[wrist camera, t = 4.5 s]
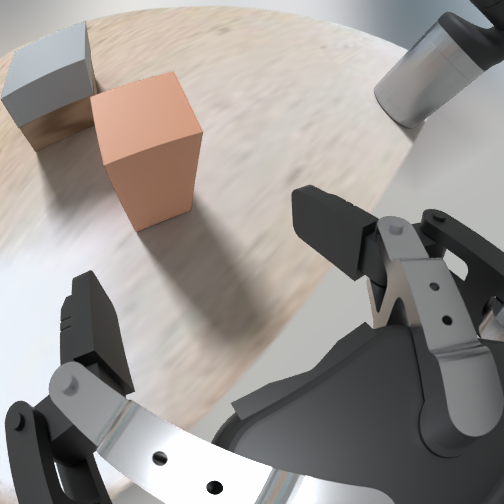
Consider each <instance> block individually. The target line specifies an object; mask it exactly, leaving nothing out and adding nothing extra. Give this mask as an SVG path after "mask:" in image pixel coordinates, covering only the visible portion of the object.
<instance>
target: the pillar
mask: <svg viewBox="0 0 504 504" xmlns="http://www.w3.org/2000/svg"><path fill="white" fill-rule="evenodd" d="M90 99H91V106H92V112H93V117H94V123H95V128H96V133H97V138H98V142H99V147H100V151H101V156H102V160H103V164H104V167H105V169H106V172H107V174H108V176H109V178H110V180H111V183H112V185H113V187H114V189H115V191H116V193H117V195H118V198H119V200H120V202H121V204H122V206H123V208H124V210H125V212H126V214H127V216H128V218H129V220H130V222H131V224H132V226H133V228H134V230H135V231H136V232H137V231H140V230H142V229H145V228H147V227H149V226H152V225H154V224H157V223H159V222H162V221H164V220H167V219H170V218H172V217H175V216H177V215H180V214H183V213H185V212H188V211H190V210H191V206H192V198H193V191H194V184H195V177H196V171H197V165H198V158H199V152H200V147H201V141H202V135H203V131H202V129H201V126H200V124H199V122H198V120H197V118H196V116H195V114H194V112H193V110H192V108H191V106H190V104H189V102H188V100H187V97H186V95H185V93H184V91H183V89H182V87H181V85H180V83H179V81H178V79H177V77H176V75H175V73H174V72H171V73H166V74H162V75H158V76H154V77H150V78H147V79H143V80H139V81H136V82H133V83H129V84H126V85H123V86H120V87H117V88H114V89H111V90H108V91H105V92H103V93H100V94H97V95H95V96H92V97H90Z"/></svg>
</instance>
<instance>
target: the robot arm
mask: <svg viewBox="0 0 504 504" xmlns="http://www.w3.org/2000/svg"><path fill="white" fill-rule="evenodd" d="M470 1H471V2H472V3H473V4H474V5H475V6H476V7H477V8H478V9H479V10H480V11H481V12H482V13H483V14H484V15H485V16H486V17H487V19H488V20H489V21H490V22H491V23H492V24H493V25H494V27H492V28H489V29H484V28H481V27H478V26H476V25H474V24H471V23H470V22H468V21H466V20H464V19H463V18H461V17H459V16H457V15H455V14H454V13H451V12H446V13H444V14H443V15H442V16H441V17H440V18H439V19H438V21H436V22H435V23H434V24H433V25H432V26H431V27H430V28H429V29H428V30H427V31H426V33H425V34H424V35H423V36H422V37H421V38H420V39H419V40H418V41H417V42H416V43H415V44H414V45H413V46H412V47H411V49H410V50H409V51H408V52H407V53H406V54H405V55H404V56H403V57H402V58H401V59H400V60H399V61H398V62H397V63H396V64H395V66H394V67H393V68H392V69H391V70H390V71H389V72H388V73H387V74H386V75H385V76H384V77H383V78H382V80H381V81H380V82H379V83H378V84H377V85H376V86H375V88H374V92H375V95H376V98H377V100H378V102H379V103H380V105H381V106H382V107H383V109H384V110H385V111H386V112H387V113H388V114H389V115H390V116H391V117H392V118H393V119H394V120H395V121H397V122H398V123H399V124H401V125H403V126H405V127H407V128H414V127H416V126H417V125H418V124H420V123H421V122H422V121H423V120H425V119H426V118H427V117H429V116H430V115H431V114H433V113H434V112H435V111H436V110H438V109H439V108H440V107H441V106H442V105H444V104H445V103H446V102H448V101H449V100H450V99H451V98H453V97H454V96H455V95H456V94H458V93H459V92H460V91H461V90H463V89H464V88H465V87H467V86H468V85H469V84H470V83H471V82H472V81H474V80H475V79H476V78H478V77H479V76H480V75H481V74H482V73H484V72H485V71H486V70H488V69H489V68H490V67H492V66H493V65H496V64H498V63H500V62H501V61H503V60H504V0H470ZM292 216H293V227H294V230H295V232H296V234H297V235H298V237H299V238H300V239H302V240H303V241H304V242H306V243H307V244H308V245H310V246H311V247H312V248H313V249H315V250H316V251H317V252H319V253H320V254H321V255H322V256H324V257H325V258H326V259H327V260H329V261H330V262H331V263H333V264H334V265H335V266H336V267H338V268H339V269H340V270H341V271H343V272H344V273H345V274H346V275H348V276H349V277H350V278H351V279H352V280H354V281H356V280H357V279H359V278H360V277H362V276H364V275H366V276H367V277H368V278H367V288H368V293H369V299H370V304H371V309H372V314H373V322H374V326H373V329H372V328H371V327H370V326H369V325H368V324H367V323H366V322H364V323H363V324H361V325H360V326H359V327H357V328H356V329H355V330H353V331H352V332H350V333H349V334H347V335H346V336H345V337H343V338H342V339H340V340H339V341H338V342H337V343H336V344H335V345H334V346H333V348H332V349H331V350H330V351H329V352H328V353H327V354H326V355H325V356H324V358H323V359H322V360H321V361H320V362H319V363H318V364H317V365H316V366H315V367H314V368H313V369H312V370H310V371H308V372H305V373H302V374H299V375H295V376H292V377H289V378H286V379H283V380H279V381H276V382H272V383H269V384H267V385H265V386H263V387H262V388H260V389H258V390H256V391H254V392H252V393H250V394H248V395H246V396H244V397H242V398H240V399H238V400H236V401H234V402H232V403H231V404H232V406H233V408H234V409H235V411H236V412H235V413H234V414H233V415H232V416H231V417H230V418H228V419H227V421H226V422H225V423H224V424H223V425H222V426H221V427H220V429H219V430H218V432H217V433H216V435H215V437H214V438H213V440H212V442H211V444H210V443H208V442H206V441H204V440H202V439H199V438H198V437H195V436H193V435H191V434H190V433H188V432H186V431H184V430H182V429H180V428H178V427H176V426H174V425H172V424H171V423H169V422H167V421H165V420H164V419H162V418H160V417H158V416H157V415H155V414H153V413H152V412H150V411H148V410H147V409H145V408H144V407H142V406H140V405H139V404H137V403H136V402H134V401H132V400H128V399H126V395H127V394H130V393H133V392H135V389H134V386H133V383H132V379H131V375H130V372H129V368H128V364H127V360H126V356H125V351H124V347H123V343H122V338H121V333H120V328H119V323H118V318H117V314H116V311H115V309H114V306H113V304H112V302H111V301H110V299H109V297H108V296H107V294H106V293H105V291H104V289H103V288H102V286H101V284H100V283H99V281H98V279H97V277H96V276H95V274H94V273H93V271H91V270H90V271H88V272H86V273H83V274H81V275H79V276H77V277H75V278H73V280H72V295H70V296H68V297H66V299H65V301H64V304H63V306H62V308H61V323H60V330H61V332H60V363H61V366H60V367H59V368H58V369H57V370H56V371H55V372H54V374H53V375H52V377H51V380H50V383H49V395H48V396H47V397H46V398H44V399H43V400H42V401H41V402H40V403H38V404H37V405H36V406H35V407H32V406H31V405H29V404H28V403H26V402H24V401H17V402H15V403H14V404H13V405H12V406H11V407H10V408H9V410H8V412H7V415H6V419H5V432H6V442H7V449H8V456H9V462H10V468H11V473H12V478H13V482H14V487H15V491H16V495H17V498H18V502H19V504H112V502H111V500H110V497H109V495H108V493H107V490H106V488H105V485H104V483H103V480H102V478H101V475H100V473H99V470H98V467H97V464H96V461H95V458H94V455H93V453H94V452H95V451H97V452H98V454H99V455H100V456H101V457H103V458H104V459H105V460H106V461H107V462H108V463H110V464H111V465H112V466H113V467H114V468H116V469H117V470H118V471H120V472H121V473H122V474H123V475H125V476H126V477H127V478H129V479H130V480H132V481H133V482H134V483H136V484H137V485H139V486H140V487H142V488H143V489H144V490H146V491H147V492H149V493H150V494H152V495H153V496H155V497H157V498H158V499H160V500H161V501H163V502H165V503H166V504H504V252H502V251H501V250H500V249H498V248H497V247H496V246H494V245H493V244H492V243H490V242H489V241H487V240H486V239H485V238H483V237H482V236H480V235H479V234H477V233H476V232H474V231H472V230H471V229H470V228H468V227H467V226H465V225H464V224H462V223H460V222H459V221H458V220H456V219H454V218H453V217H451V216H449V215H448V214H446V213H444V212H442V211H439V210H435V209H428V210H425V211H424V212H423V215H422V219H421V223H416V224H410V223H409V222H408V221H406V220H404V219H402V218H399V217H394V216H386V217H383V218H381V219H378V218H376V217H375V216H373V215H371V214H369V213H368V212H366V211H364V210H362V209H361V208H359V207H357V206H353V204H351V203H350V202H348V201H347V202H346V200H344V199H342V198H340V197H338V196H336V195H333V194H329V193H326V192H324V191H322V190H320V189H318V188H317V187H315V186H313V185H307V186H304V187H301V188H298V189H295V190H294V191H293V192H292ZM446 249H448V250H449V251H451V252H452V253H454V254H455V255H456V256H458V257H459V258H460V259H462V260H463V261H464V262H465V263H466V264H467V266H468V274H467V277H466V279H465V281H463V280H462V279H461V278H459V277H458V276H457V275H456V274H454V273H453V272H452V271H450V270H449V269H448V267H447V266H446V263H445V262H444V260H443V257H444V254H445V251H446ZM495 296H496V298H495ZM477 335H478V336H479V337H480V338H478V337H477ZM54 462H55V463H56V464H57V468H58V472H59V475H60V479H61V482H62V485H63V488H64V491H65V493H64V492H63V490H62V488H61V486H60V483H59V479H58V476H57V472H56V469H55V465H54Z"/></svg>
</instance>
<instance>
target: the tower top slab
mask: <svg viewBox="0 0 504 504" xmlns="http://www.w3.org/2000/svg"><path fill="white" fill-rule="evenodd" d="M91 95H93V83H92V69H91V50H90V45H89V39H88V33H87V27H86V21H83V22H80V23H77V24H75V25H72V26H69V27H67V28H64V29H62V30H59V31H57V32H54V33H52V34H50V35H47V36H45V37H43V38H41V39H39V40H37V41H35V42H32V43H30V44H28V45H27V46H25V47H23V48H21V49H19V50H17V51H15V53H14V56H13V58H12V61H11V64H10V67H9V70H8V74H7V77H6V80H5V84H4V87H3V91H2V95H1V101H2V102H3V104H4V106H5V107H6V109H7V111H8V112H9V114H10V115H11V117H12V118H13V120H14V122H15V123H16V125H17V126H18V128H20V127H22V126H24V125H25V124H27V123H29V122H31V121H33V120H35V119H37V118H39V117H41V116H43V115H45V114H47V113H50V112H52V111H54V110H56V109H58V108H61V107H63V106H65V105H68V104H70V103H72V102H75V101H77V100H80V99H83V98H85V97H88V96H91Z"/></svg>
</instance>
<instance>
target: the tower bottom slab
mask: <svg viewBox="0 0 504 504" xmlns="http://www.w3.org/2000/svg"><path fill="white" fill-rule="evenodd" d="M91 69H92V83H93V95H91V96H88V97H85V98H83V99H80V100H77V101H75V102H72V103H70V104H68V105H65V106H63V107H61V108H58V109H56V110H54V111H52V112H50V113H47V114H45V115H43V116H41V117H39V118H37V119H35V120H33V121H31V122H29V123H27V124H25V125H24V126H22V127H20V130H21V131H22V133H23V134H24V136H25V137H26V139H27V140H28V141H29V143H30V144H31V146H32V147H33V149H34V150H35V151H36V152H37V151H39V150H41V149H43V148H45V147H47V146H49V145H51V144H53V143H55V142H57V141H59V140H61V139H63V138H66V137H68V136H70V135H72V134H74V133H77V132H79V131H81V130H84V129H86V128H89V127H91V126H94V125H95V123H94V117H93V112H92V106H91V99H90V97H92V96H95V95H97V87H96V80H95V75H94V70H93V66H92V61H91Z"/></svg>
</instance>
